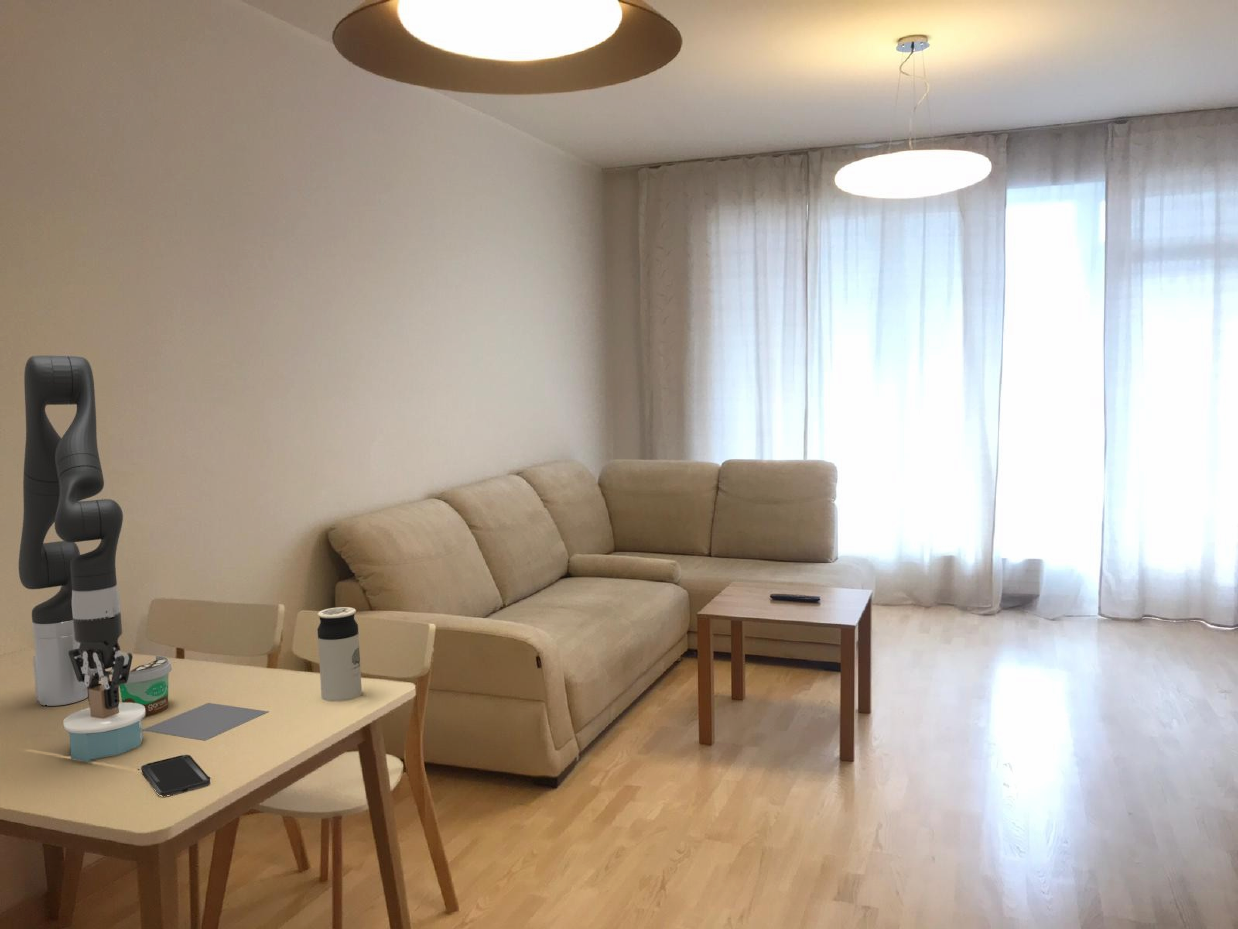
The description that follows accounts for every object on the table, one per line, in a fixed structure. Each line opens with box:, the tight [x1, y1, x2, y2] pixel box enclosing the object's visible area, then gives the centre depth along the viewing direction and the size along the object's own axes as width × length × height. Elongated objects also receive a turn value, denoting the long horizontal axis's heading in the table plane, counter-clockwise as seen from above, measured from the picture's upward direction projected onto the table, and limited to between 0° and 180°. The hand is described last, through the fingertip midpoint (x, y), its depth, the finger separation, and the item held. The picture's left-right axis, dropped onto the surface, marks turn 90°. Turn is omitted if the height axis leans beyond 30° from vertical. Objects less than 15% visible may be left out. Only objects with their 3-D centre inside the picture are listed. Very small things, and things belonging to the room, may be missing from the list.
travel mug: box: [317, 606, 363, 702], centre depth 200 cm, size 8×8×18 cm
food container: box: [119, 655, 173, 718], centre depth 194 cm, size 12×6×10 cm, turn 168°
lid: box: [62, 683, 146, 734], centre depth 175 cm, size 13×13×6 cm
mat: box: [142, 702, 270, 742], centre depth 187 cm, size 16×16×1 cm
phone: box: [140, 754, 211, 796], centre depth 162 cm, size 8×1×15 cm
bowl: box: [68, 718, 144, 763], centre depth 175 cm, size 11×11×5 cm
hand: (104, 706), depth 175 cm, fingers open, 3 cm apart
